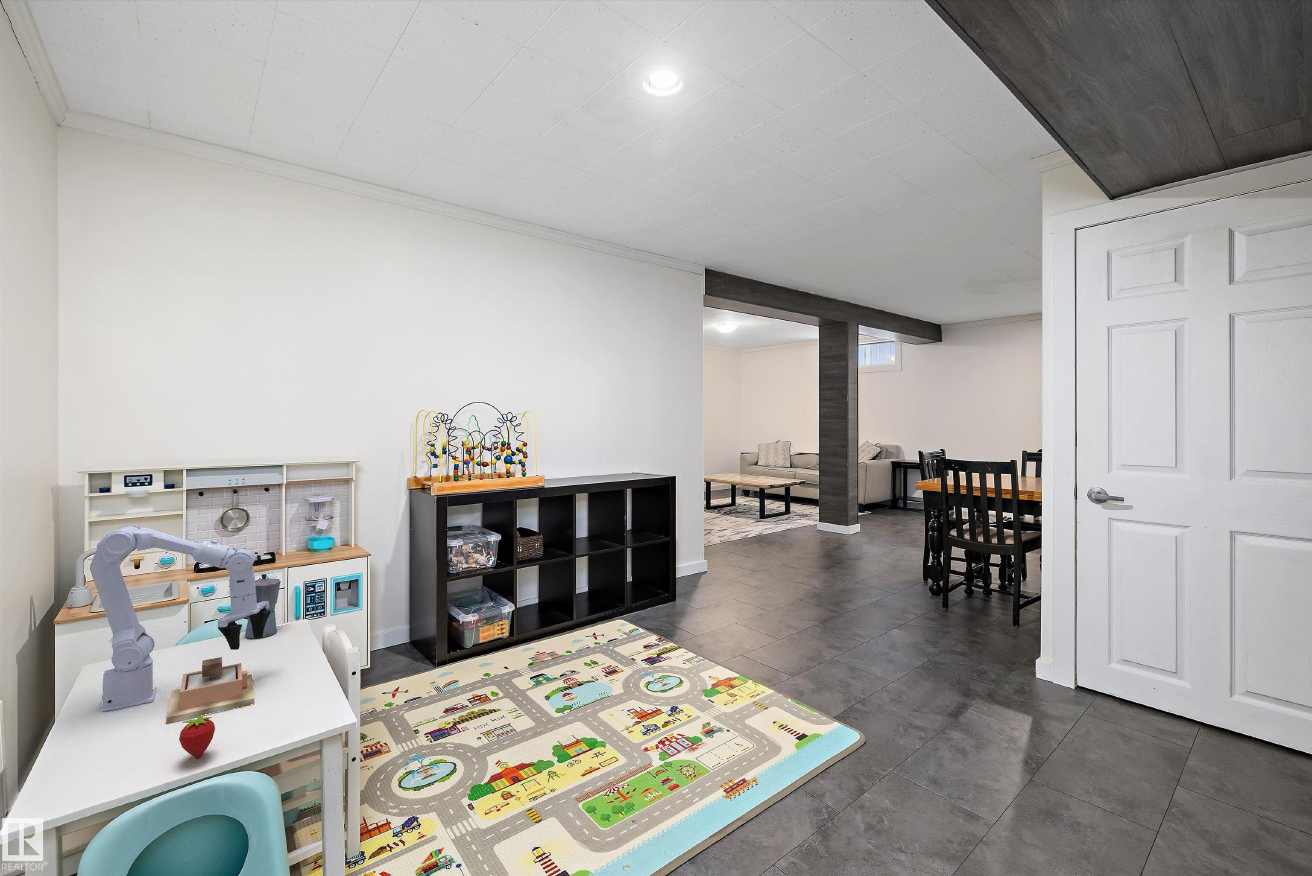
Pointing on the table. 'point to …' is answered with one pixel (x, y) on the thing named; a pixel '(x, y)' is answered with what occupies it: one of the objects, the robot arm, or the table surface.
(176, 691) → the light wood rectangular frame
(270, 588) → the moka pot
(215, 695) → the shallow wooden crate
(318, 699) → the table surface
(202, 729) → the strawberry
